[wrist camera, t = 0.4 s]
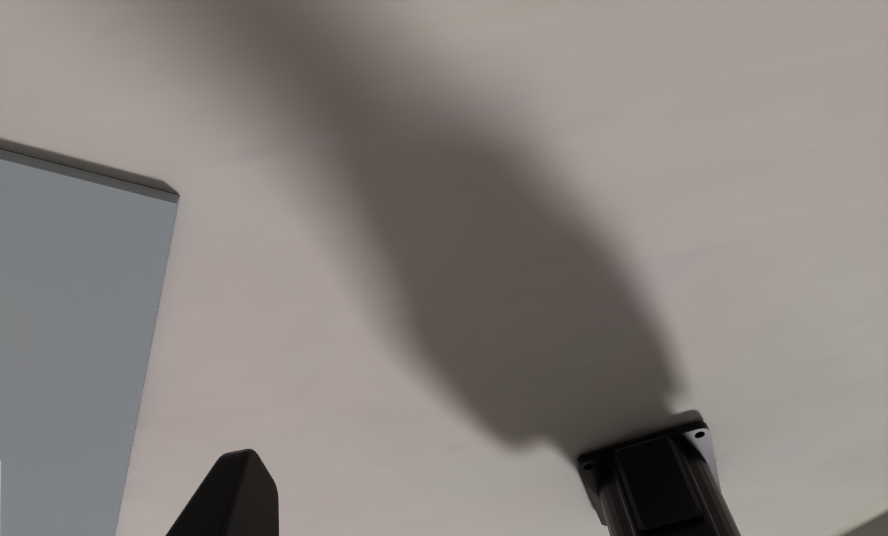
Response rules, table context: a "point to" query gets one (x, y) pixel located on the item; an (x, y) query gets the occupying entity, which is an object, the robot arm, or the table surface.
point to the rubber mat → (73, 339)
